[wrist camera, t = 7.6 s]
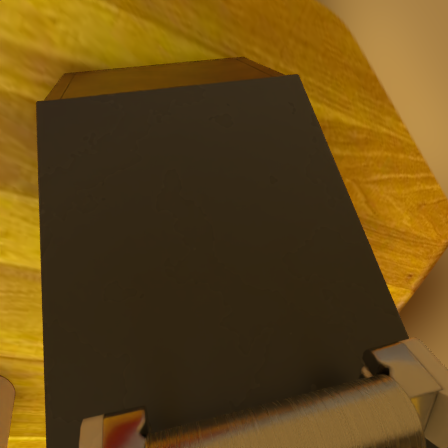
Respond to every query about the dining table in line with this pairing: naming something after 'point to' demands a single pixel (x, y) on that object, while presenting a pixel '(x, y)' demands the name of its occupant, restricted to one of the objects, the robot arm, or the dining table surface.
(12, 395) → the coffee cup
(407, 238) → the dining table surface
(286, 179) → the bin lid
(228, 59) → the dark brown open box
